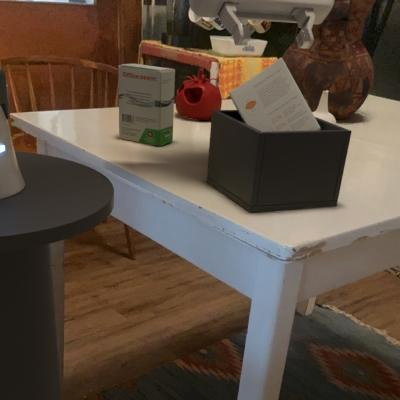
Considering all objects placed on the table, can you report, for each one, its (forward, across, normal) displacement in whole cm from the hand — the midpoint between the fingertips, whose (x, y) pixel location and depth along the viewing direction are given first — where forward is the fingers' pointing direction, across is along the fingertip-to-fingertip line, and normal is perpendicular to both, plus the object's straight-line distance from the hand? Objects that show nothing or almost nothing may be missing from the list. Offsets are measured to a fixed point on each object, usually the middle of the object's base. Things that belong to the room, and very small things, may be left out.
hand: (275, 43), depth 78 cm
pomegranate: (-20, +11, +46) cm, 52 cm away
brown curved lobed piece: (-22, +43, +48) cm, 68 cm away
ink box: (-7, -7, +34) cm, 35 cm away
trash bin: (+15, 0, +11) cm, 19 cm away
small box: (+13, +1, +4) cm, 14 cm away
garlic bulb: (-9, +31, +35) cm, 47 cm away
